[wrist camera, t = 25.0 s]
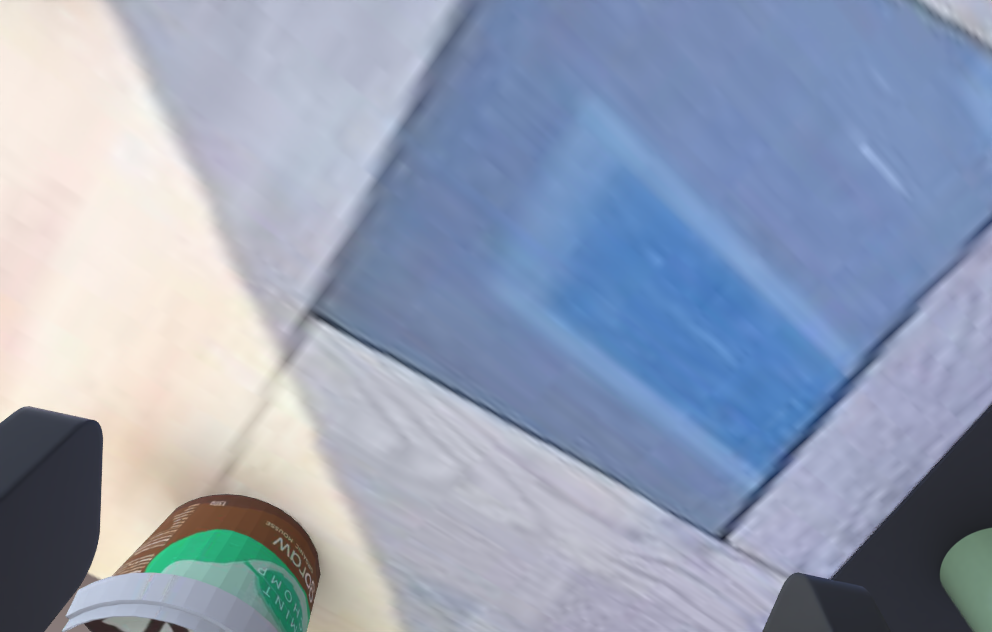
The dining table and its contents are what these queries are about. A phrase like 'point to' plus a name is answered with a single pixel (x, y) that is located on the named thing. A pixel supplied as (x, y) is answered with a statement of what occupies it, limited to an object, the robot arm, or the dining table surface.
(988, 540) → the spatula crock
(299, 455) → the dining table surface
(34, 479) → the robot arm
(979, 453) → the mat
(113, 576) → the food container
